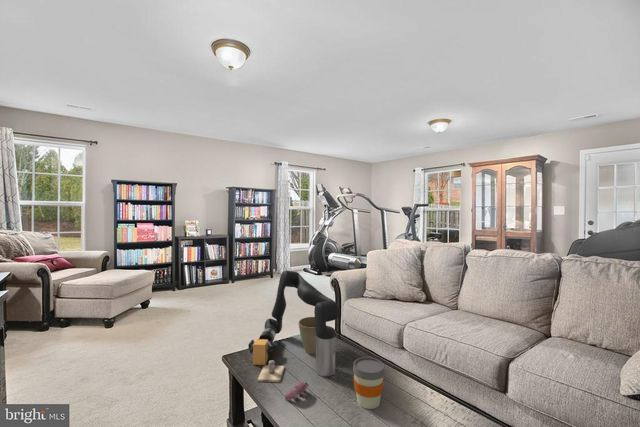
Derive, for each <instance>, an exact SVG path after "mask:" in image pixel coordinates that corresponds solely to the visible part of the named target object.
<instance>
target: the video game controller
mask: <svg viewBox="0 0 640 427" xmlns="http://www.w3.org/2000/svg"><path fill="white" fill-rule="evenodd" d="M308 388H309V383H308V382H307V381H305V380H303V381H300V382H297V383H296V385H295V386H294V387H292V388H291V390H290V391H289V392H287V393H286V394H284V399H285V400H286V401H291V400H296V399H298V397H299V396H302V395H303V394H304V392H305V391H306V390H307V389H308Z"/></svg>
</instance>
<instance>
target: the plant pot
mask: <svg viewBox="0 0 640 427" xmlns="http://www.w3.org/2000/svg"><path fill="white" fill-rule="evenodd" d="M297 324H298V329H299V334H300V339H301V342H302V346H303V348H304V350H305V353H306V354H309V355H310V354H311V355H313V354H315V355H316V330H315V316H308V317H303V318H301V319H299V320H298V323H297Z"/></svg>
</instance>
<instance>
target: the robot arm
mask: <svg viewBox="0 0 640 427" xmlns="http://www.w3.org/2000/svg"><path fill="white" fill-rule="evenodd" d="M278 282H279V283H278V287H277V291H276V298H275V303H274V305H273V307H272V312H271V317H272V318H268V319H266V320H265V323H264V330H263V331H262V332H261V334H260V335H259V337H258V339H264V340H268V350H267V354H268V355H269V354H271V352H272V351H277V348H278V347H277V346H278V340H275V336H277V334H279V333H280V332H281V331H282V328H283V317H284V314H285V311H286V308H287V300H286V297H285V296H286V295H285V290H286V287H288V288H295V289H296V290H297V291H296V292H297V293H296V294H297V297H298V298H299V299H300V300H301V301H302V302H303V303H305V304H307V305H309V306H312V307H314V311H313V312H314V315H313V316H314V317H315V330H316V354H315V373H316V375H318V376H320V377H331V376H335V375H336V329H335V328H334V327H332V326H329V325H327V322H328V323H329V322H333V321H335V320H338V319H339V317H340V316H341V310H340V306H339V305H338V303H336V302H337V301H334V300H333V299H331V298H329V297H328V296H327V295H325V294H323V293H322V292H321V291H319V290H318V289H317V288H315V286H313V285H312V284H311V283H309V282H308V281H307V280H306V279H305V278H304V277H303V276H302V275H301V274H300V273H299V272H298V271H293V270H283V271H282V272H281V274H280V278H279V280H278ZM255 341H256V340H254V339H252V340H250V342H249V343H248V348H247V349H248V350H249V353H250V354H253V344H254V342H255Z"/></svg>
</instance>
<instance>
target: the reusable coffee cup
mask: <svg viewBox="0 0 640 427" xmlns="http://www.w3.org/2000/svg"><path fill="white" fill-rule="evenodd" d="M352 365H353V367H352V372H353V386H354V390H355V393H356V401H357V404H358V405H359V406H360V407H361V408H364V409H366V410H367V409H368V410H373V409H374V410H375V409H377V408H378V407H379V406H380V404H381V398H382V397H381V395H382V393H383V390H384V383H385V379H384V376H385V373H386V372H385V365H384V363H383V362H382V361H381V360H380V359H378V358H375V357H370V356H368V357H367V356H364V357H358V358H356V359H355V360H354V361H353V364H352Z"/></svg>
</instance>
